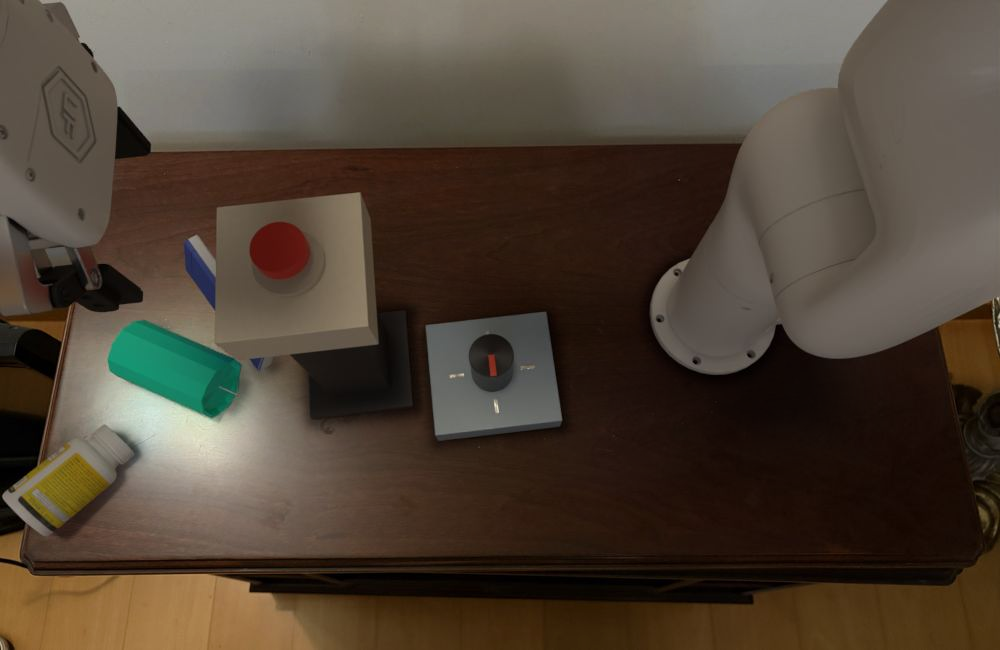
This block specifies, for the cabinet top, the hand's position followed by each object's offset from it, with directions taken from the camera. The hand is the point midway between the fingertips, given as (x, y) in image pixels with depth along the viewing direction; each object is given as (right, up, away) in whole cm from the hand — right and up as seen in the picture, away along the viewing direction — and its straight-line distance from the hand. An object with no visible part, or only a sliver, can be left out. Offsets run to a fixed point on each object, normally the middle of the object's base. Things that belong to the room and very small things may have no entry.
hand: (122, 223), depth 42 cm
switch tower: (+8, -10, +29) cm, 32 cm away
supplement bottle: (-20, -23, +20) cm, 37 cm away
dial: (+22, -10, +26) cm, 35 cm away
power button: (+8, -2, +5) cm, 10 cm away
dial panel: (+22, -11, +29) cm, 38 cm away
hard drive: (-3, -4, +26) cm, 26 cm away
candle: (-14, -8, +27) cm, 32 cm away
